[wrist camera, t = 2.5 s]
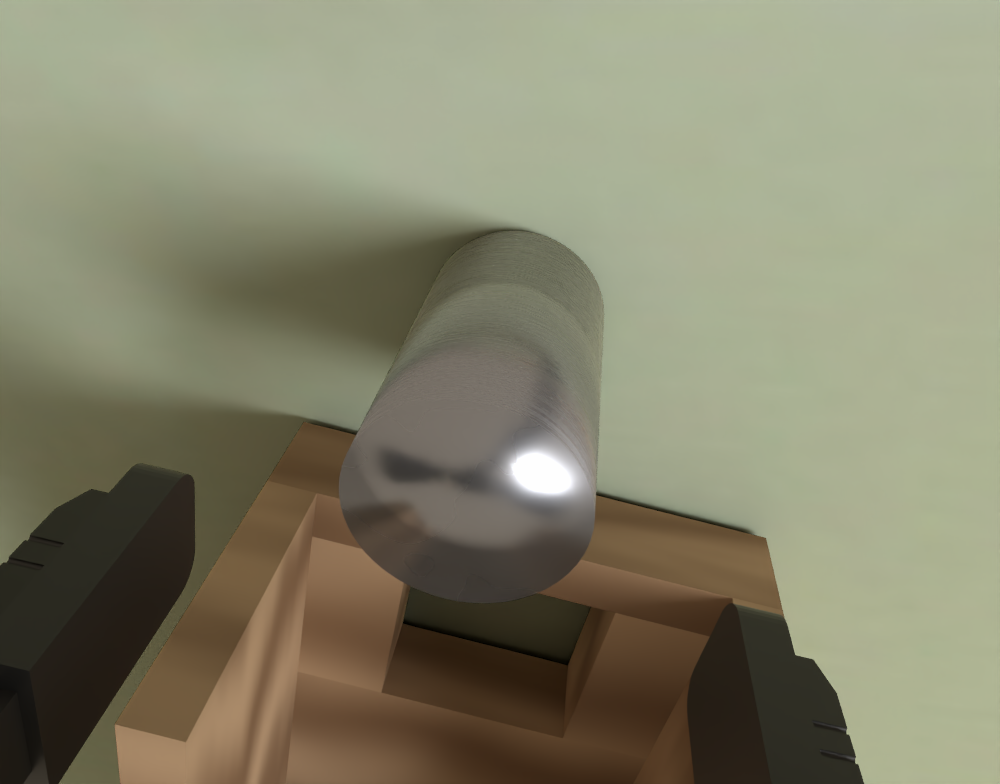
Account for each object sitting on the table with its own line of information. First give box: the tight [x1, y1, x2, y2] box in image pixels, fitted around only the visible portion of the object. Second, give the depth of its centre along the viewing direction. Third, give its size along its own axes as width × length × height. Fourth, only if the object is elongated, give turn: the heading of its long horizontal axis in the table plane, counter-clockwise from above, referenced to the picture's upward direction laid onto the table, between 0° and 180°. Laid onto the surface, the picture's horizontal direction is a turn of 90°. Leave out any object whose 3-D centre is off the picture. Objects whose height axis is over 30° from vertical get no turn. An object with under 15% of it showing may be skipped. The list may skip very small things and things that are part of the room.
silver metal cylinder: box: [339, 231, 604, 603], centre depth 15 cm, size 4×4×7 cm
